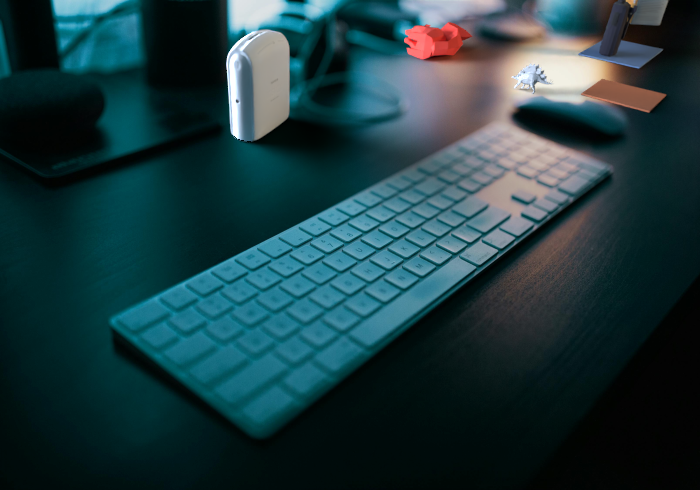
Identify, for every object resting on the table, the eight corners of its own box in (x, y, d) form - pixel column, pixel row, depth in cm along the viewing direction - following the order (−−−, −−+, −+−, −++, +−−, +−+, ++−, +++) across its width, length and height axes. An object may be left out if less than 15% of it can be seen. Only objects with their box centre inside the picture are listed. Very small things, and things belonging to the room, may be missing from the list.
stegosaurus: (548, 97, 95) (556, 69, 92) (507, 88, 98) (513, 60, 95) (552, 93, 97) (559, 65, 94) (511, 84, 100) (517, 57, 97)
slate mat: (662, 50, 126) (663, 49, 125) (638, 68, 113) (639, 67, 112) (606, 38, 131) (607, 37, 131) (578, 54, 118) (578, 53, 118)
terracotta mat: (665, 96, 100) (666, 94, 99) (649, 112, 92) (649, 110, 92) (601, 80, 105) (602, 78, 105) (581, 94, 97) (581, 93, 97)
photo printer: (255, 145, 73) (252, 45, 66) (226, 138, 74) (220, 38, 67) (293, 118, 81) (294, 26, 74) (266, 112, 82) (265, 21, 75)
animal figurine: (478, 49, 117) (482, 23, 114) (445, 66, 106) (450, 37, 103) (426, 38, 122) (430, 12, 119) (390, 53, 111) (393, 25, 108)
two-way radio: (601, 49, 122) (624, -29, 113) (623, 53, 120) (649, -26, 112) (596, 55, 118) (620, -26, 109) (619, 59, 116) (645, -22, 108)
